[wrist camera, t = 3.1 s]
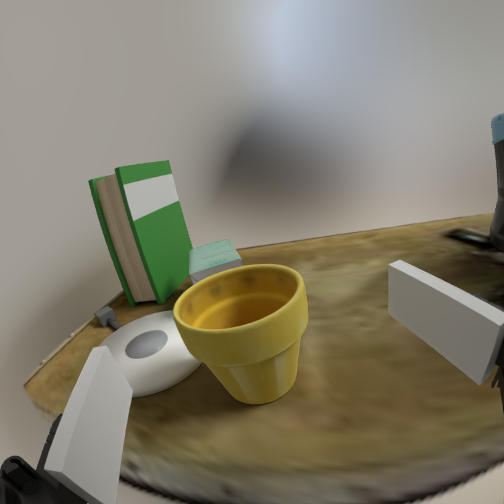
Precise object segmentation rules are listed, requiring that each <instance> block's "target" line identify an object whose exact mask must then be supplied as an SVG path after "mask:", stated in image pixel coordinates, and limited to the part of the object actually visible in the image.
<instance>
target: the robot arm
mask: <svg viewBox="0 0 504 504" xmlns="http://www.w3.org/2000/svg"><path fill="white" fill-rule="evenodd" d="M491 128H492V136H493V141H492V143H493V144H494V148H495V157H496V168H497V184H498V201H497V205H496V208H495V212H494V216H493V219H492V223H491V226H490V242H491V244H492V245H493V246H494V247H496V248H497V249H499V250H501V251H503V252H504V113H503V114H499V115H496V116H495V117H494V118H493V119H492V121H491ZM388 275H389V307H388V314H389V315H391V316H392V317H393V318H395V319H396V320H397V321H399V322H400V323H401V324H402V325H404V326H405V327H406V328H408V329H409V330H410V331H412V332H413V333H414V334H415V335H417V336H418V337H419V338H421V339H422V340H423V341H424V342H426V343H427V344H428V345H430V346H431V347H432V348H433V349H435V350H436V351H437V352H438V353H440V354H441V355H442V356H443V357H445V358H446V359H447V360H449V361H450V362H451V363H452V364H453V365H455V366H456V367H457V368H458V369H460V370H461V371H462V372H463V373H465V374H466V375H467V376H468V377H469V378H471V379H472V380H473V381H474V382H476V383H477V384H478V385H479V386H480V385H481V384H482V383H483V382H484V381H485V380H486V379H487V378H488V377H489V376H490V375H491V372H492V370H493V367H494V365H495V364H497V365H498V366H499V368H498V370H497V373H496V375H495V377H494V380H493V382H492V387H491V388H494V386H495V384H496V382H497V380H499V382H498V385H497V387H500V391H501V397H502V404H503V412H504V309H503V308H501V307H499V306H497V305H495V304H494V303H492V302H490V303H489V301H488V300H486V299H484V298H483V299H482V297H480V296H478V295H476V294H475V293H472V292H468V291H464V290H461V289H459V288H457V287H455V286H453V285H451V284H449V283H447V282H445V281H443V280H441V279H439V278H437V277H435V276H433V275H431V274H429V273H427V272H425V271H423V270H420V269H418V268H416V267H414V266H412V265H410V264H408V263H406V262H403V261H401V260H398V261H396V262H393V263H391V264H388ZM132 394H133V390H132V388H131V387H130V385H129V383H128V382H127V380H126V378H125V377H124V375H123V373H122V372H121V370H120V368H119V367H118V365H117V363H116V361H115V360H114V358H113V356H112V354H111V352H110V350H109V349H108V347H107V345H106V346H101V347H96V348H93V349H92V351H91V353H90V355H89V357H88V359H87V361H86V363H85V365H84V367H83V370H82V372H81V374H80V376H79V378H78V380H77V383H76V385H75V387H74V389H73V392H72V394H71V396H70V399H69V401H68V403H67V406H66V408H65V411H64V413H63V414H60V415H59V416H58V417H57V419H56V420H55V421H54V422H53V424H52V427H51V429H50V432H49V433H50V435H48V437H47V440H46V441H47V443H45V445H44V448H43V451H42V454H41V457H40V460H39V463H38V466H37V469H36V470H34V469H33V468H32V467H31V466H30V465H29V464H28V463H27V462H26V461H24V460H23V459H22V458H21V457H19V456H11V457H9V458H8V459H6V460H5V461H4V463H3V464H2V466H1V469H0V504H87V503H89V504H116V502H117V491H118V481H119V473H120V465H121V457H122V450H123V444H124V437H125V431H126V425H127V420H128V414H129V409H130V404H131V399H132Z"/></svg>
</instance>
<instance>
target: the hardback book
mask: <svg viewBox="0 0 504 504" xmlns="http://www.w3.org/2000/svg"><path fill="white" fill-rule="evenodd" d="M89 185H90V189H91V193H92V197H93V201H94V204H95V208H96V212H97V215H98V218H99V221H100V225H101V228H102V231H103V234H104V237H105V241H106V243H107V246H108V249H109V252H110V255H111V258H112V260H113V263H114V266H115V269H116V271H117V274H118V277H119V279H120V282H121V284H122V287H123V289H124V292H125V294H126V297H127V299H128V301H129V304H130V306H131V307H135V306H136V305H137V304H138V303H139V302H140V301H151V300H156V301H157V303H158V305H163V304H164V302H165V301H166V300H167V299H168V298H169V297H170V296H171V294H172V293H173V292H174V291H175V290H176V289H177V288H178V287H179V285H180V284H181V283H182V282H183V281H184V280H185V279H186V278H187V276H188V275H189V251H191V250H192V249H193V248H192V244H191V241H190V238H189V235H188V231H187V227H186V224H185V220H184V217H183V213H182V209H181V206H180V202H179V199H178V195H177V191H176V187H175V183H174V180H173V176H172V172H171V168H170V164H169V160H167V161H159V162H150V163H143V164H136V165H129V166H123V167H118V168H116V169H115V174H113V175H110V176H105V177H100V178H96V179H91V180H89Z"/></svg>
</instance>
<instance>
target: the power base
mask: <svg viewBox="0 0 504 504" xmlns="http://www.w3.org/2000/svg"><path fill="white" fill-rule="evenodd" d="M94 314H95V316H96V318H97V320H98V322H99V323H100V324H101V325H102V326H103V327H105V326H107V325H108V324H110V325H111V326H112V327H114V328H115V329H116V331H115V332H113V333H112V334H111V335H110V336H108V337H107V338H106V339H105V340H104V341H103V342H102V343H101V344H100V345H99V347H101V346H106V345H107V347H108V349H109V350H110V352H111V354H112V356H113V358H114V360H115V361H116V363H117V365H118V367H119V368H120V370H121V372H122V373H123V375H124V377H125V378H126V380H127V382H128V383H129V385H130V387H131V388H132V390H133V394H132V397H142V396H147V395H151V394H155V393H158V392H161V391H163V390H166V389H168V388H170V387H172V386H174V385H176V384H177V383H179V382H181V381H182V380H184V379H185V378H187V377H188V376H189V375H190V374H192V373H193V372H194V371H195V370H196V369H197V368H198V367H199V366H200V365H201V364H202V362H201V361H199V360H197V359H196V358H194V357H193V356H192V355H191V354H190V353H189V351H188V350H187V348H186V346H185V344H184V342H183V340H182V338H181V336H180V334H179V332H178V329H177V327H176V324H175V322H174V319H173V310H171V311H163V312H158V313H154V314H150V315H147V316H144V317H142V318H139V319H137V320H134V321H132V322H130V323H128V324H126V325H124V326H123V327H122V326H121V325H119V324H118V323H117V322H115V320H117V317H116V315H115V313H114V311H113V309H112V308H110V307H108V306H106V307H104V308H103V309H101V310H99V311H97V312H96V313H94Z"/></svg>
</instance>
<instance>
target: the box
mask: <svg viewBox="0 0 504 504" xmlns="http://www.w3.org/2000/svg"><path fill="white" fill-rule="evenodd" d="M241 266H244V265H243V262H242V259H241V257H240V256H239V254H238V253H237V251H236V250H235V248H234V247H233V245H232V244H231V242H230V241H229V240H227V239H225V240H221V241H217V242H214V243H210V244H207V245H204V246H201V247H197V248H195V249H192V250H191V251H189V274H190V278H191V281H192V284H193V285H194V284H196V283H198V282H199V281H201V280H203V279H205V278H207V277H209V276H212V275H214V274H217V273H219V272H222V271H225V270H229V269H233V268H237V267H241Z"/></svg>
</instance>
